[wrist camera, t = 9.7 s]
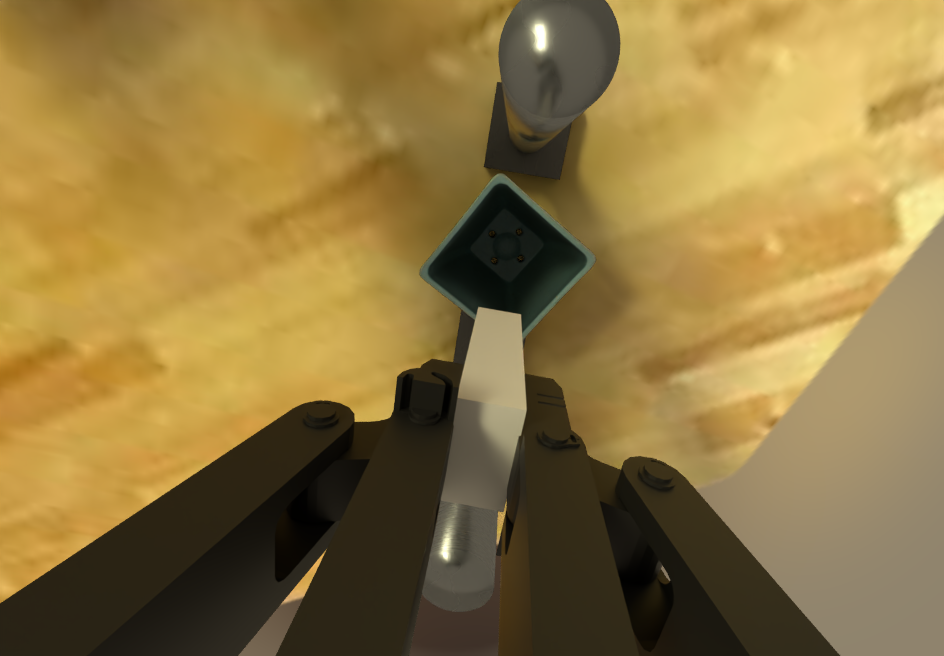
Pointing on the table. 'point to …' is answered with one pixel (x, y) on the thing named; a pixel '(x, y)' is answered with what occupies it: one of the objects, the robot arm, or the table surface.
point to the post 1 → (462, 537)
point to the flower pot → (507, 257)
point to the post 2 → (548, 80)
